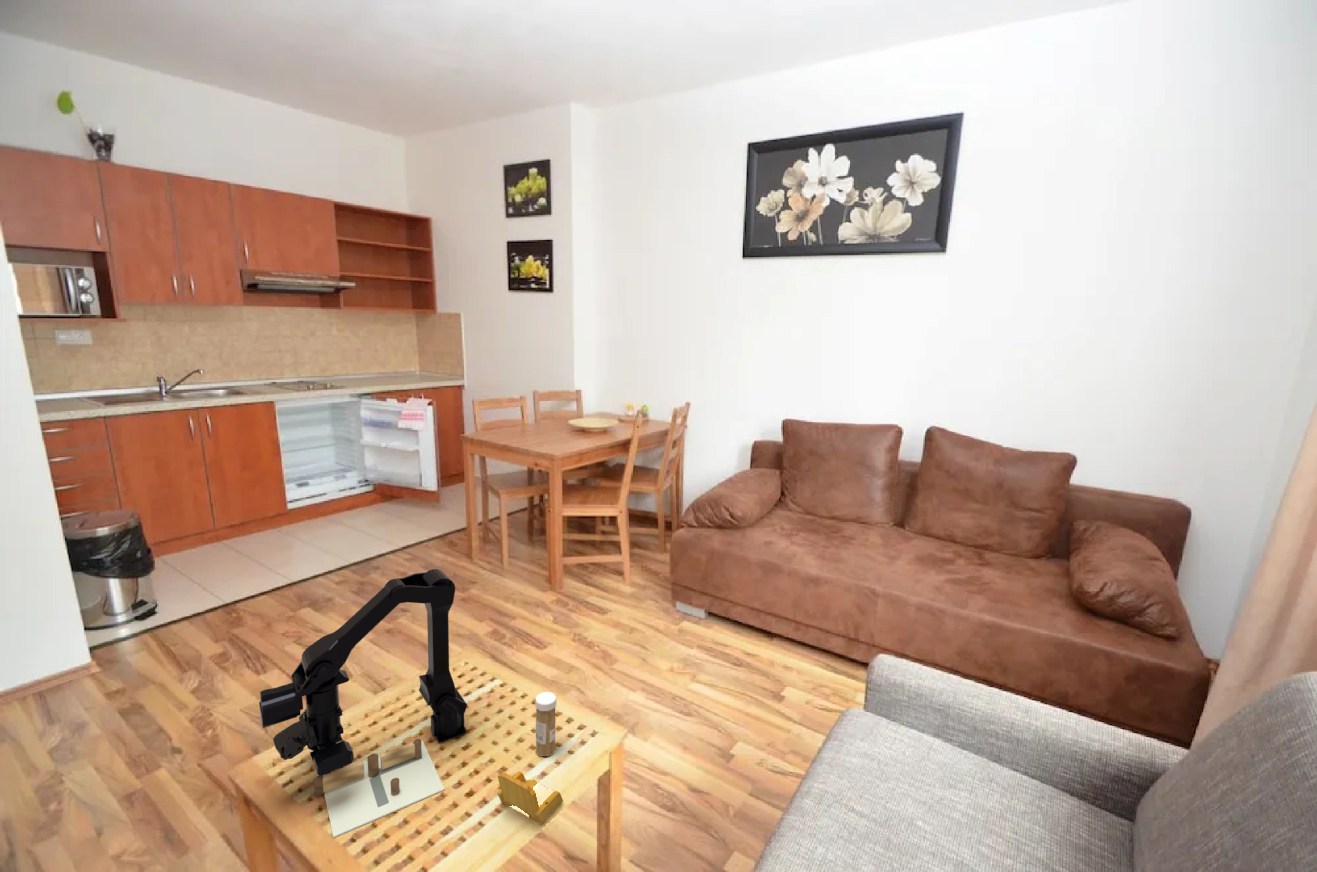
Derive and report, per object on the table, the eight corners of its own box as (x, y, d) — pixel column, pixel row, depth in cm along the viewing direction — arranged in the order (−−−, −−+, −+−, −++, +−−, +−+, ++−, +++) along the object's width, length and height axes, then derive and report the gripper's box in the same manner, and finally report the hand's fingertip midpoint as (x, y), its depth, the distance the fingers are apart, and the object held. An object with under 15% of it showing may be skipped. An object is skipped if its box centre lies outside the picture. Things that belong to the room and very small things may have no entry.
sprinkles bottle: (558, 753, 128) (559, 699, 126) (539, 760, 126) (540, 706, 123) (550, 740, 132) (551, 688, 130) (531, 747, 130) (532, 694, 127)
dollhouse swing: (565, 799, 116) (566, 760, 114) (534, 834, 108) (534, 792, 106) (525, 778, 121) (525, 740, 119) (493, 810, 113) (492, 770, 111)
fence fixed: (420, 753, 126) (419, 736, 125) (432, 781, 119) (431, 762, 118) (367, 774, 120) (366, 755, 119) (376, 804, 113) (375, 785, 112)
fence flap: (363, 772, 119) (362, 758, 118) (364, 777, 118) (364, 763, 117) (314, 790, 114) (313, 777, 113) (315, 796, 113) (314, 782, 112)
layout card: (422, 740, 130) (422, 739, 130) (444, 790, 117) (444, 788, 117) (321, 778, 118) (321, 776, 118) (333, 838, 105) (333, 836, 105)
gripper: (267, 698, 116) (273, 764, 119) (284, 750, 103) (290, 824, 106) (329, 677, 124) (333, 741, 127) (352, 724, 110) (356, 794, 113)
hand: (327, 773), depth 118 cm, fingers closed
